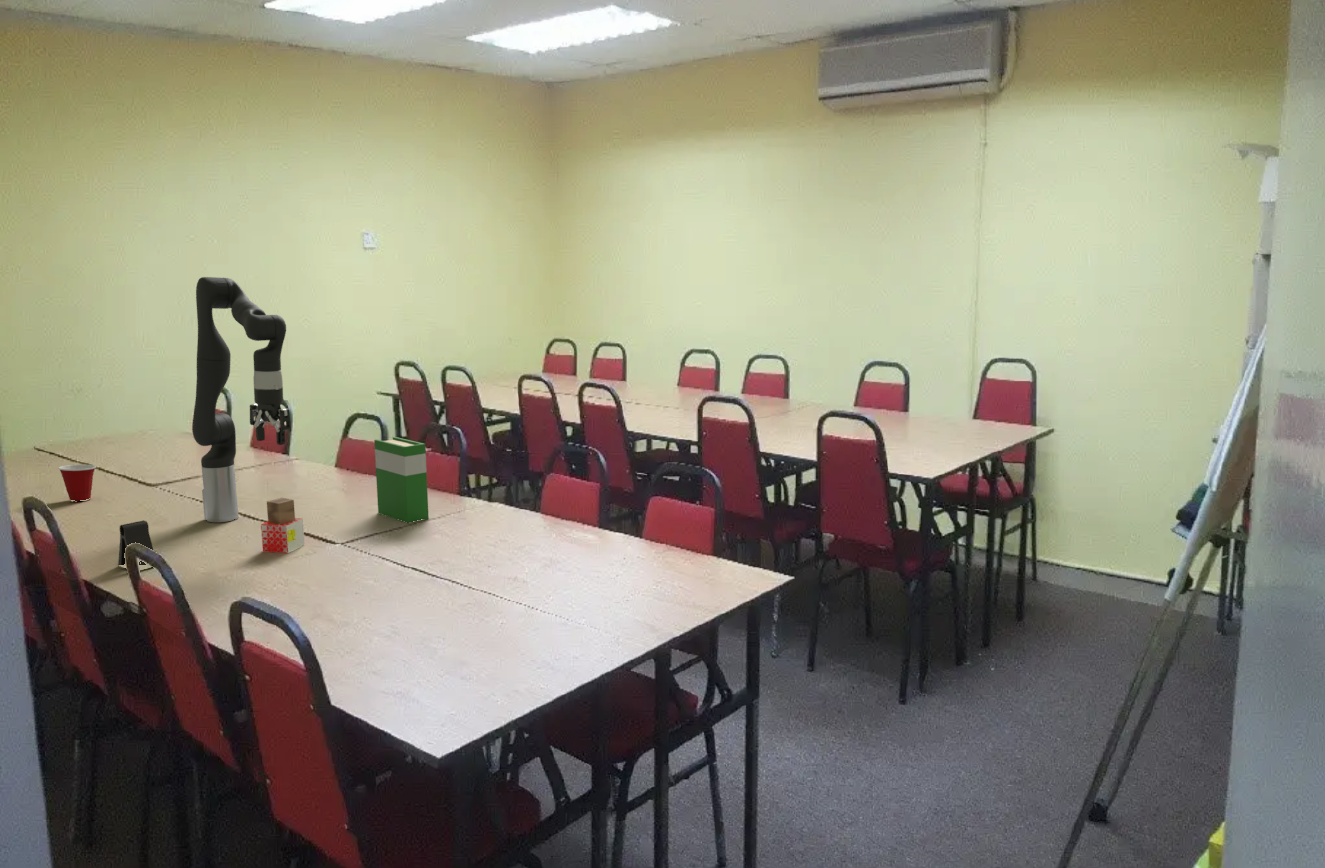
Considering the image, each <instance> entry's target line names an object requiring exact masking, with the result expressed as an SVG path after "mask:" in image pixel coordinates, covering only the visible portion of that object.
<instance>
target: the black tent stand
mask: <svg viewBox="0 0 1325 868" xmlns="http://www.w3.org/2000/svg"><path fill="white" fill-rule="evenodd" d="M119 535H120V537H119V550H118V563H117V565H124V564H125V558H124V553H125V548H126V547H127V545H129V544H131V543H135V542H136V543H140V544H142V545H144V546H146V547H148V548H150V549H152V550H154V547H153V543H152V539H151V535H150V531H149V523H148V521H147V520H139V521H135V522H129V523H124V524H120V525H119ZM140 562H141V564H140ZM140 562H139V565H146V564H145V563H144V562H142V561H140ZM124 570H126V568H125V569H124Z"/></svg>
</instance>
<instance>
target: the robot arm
mask: <svg viewBox="0 0 1325 868" xmlns="http://www.w3.org/2000/svg"><path fill="white" fill-rule="evenodd" d="M195 288H196V289H195V302H196V304H195V305H196V316H197V317H196V318H197V319H196V320H197V346H196V349H197V350H196V386H195V387H196V389H195V400H194V409H193V417H192V422H191V423H192V426H191V427H192V428H191V429H192V431H191V432H192V435H193V439H194V440H195V441H194V442H196V443H197V444H198V445H199V446H201V447H208V446H211V447H210V449H209V450H208V451H207V453H205V454H204V455H203V456H202V457H201V460H200V462H201V474H202V475H201V476H202V485H203V486H202V487H203V489H202V490H201V492H202V493H201V494H202V495H201V496H202V501H203V502H202V506H203V515H204V516H203V517H204V520H207V521H206V522H208V523H224V522H230V521H234V519H235V520H237V519H238V518H239V505H238V494H237V483H236V482H237V480H236V469H235V457H236V454H237V443H236V442H237V440H236V436H237V433H236V426H235V423H234V420H233V418H232V417H231V416H230V415H229V414H228V413H223V412H219V413H216V410H217V402H218V400H219V397H220V395H221V393H222V391H223V389H224V388H225V386H226V385H227V382H228V380H229V378H230V374H231V357H232V356H231V351H230V348H229V346H228V345H227V343H226V342H225V340H224V339H223V337H222V335H221V334H220V332H219V331H218V329H217V327H216V324H215V322H214V316H213V309H218V310H219V309H221V310H223V309H224V310H225V309H230V311H231V316H232V318H233V319H234V320H235V322H237V324H239V325H240V326H242V327H243V330H244V331H245V335H246V336H247V338H248V339H250V340H252V341H255V342H257V341H258V342H259V341H260V342H263V341H269V342H268V343H267V345H266V346H264V347H263V348H259V349H256V350H254V351H253V356H252V357H253V394H254V395H253V397H254V398H253V399H254V403H253V404H249V425H251V426H253V427H254V428H255V437H256V438H255V439H256V441H257V442H262V441H265V439H266V434H265V424H266V423H267V422H268V423H269V424H270V423H271V426H273V427H274V429H275V430H276V444H277V445H278V446H282V445H285V444H286V432H287V431H288V430H291V427H292V426H291V413H290V409H289V408H282V406H281V404H282V403H283V402H284V386H283V384H284V383H283V374H282V357H281V355H282V350H283V345H284V341H285V337H286V334H287V324H286V321H285V320H284V318H283V317H282V316H280V315H278V314H266V313H265V311H264V310H263V309H262V308H261V307H260V306H258V305H257V304H255V303H254V302H253V301H251V299H250V298H249V297H248V296H247V294H246V293H245V291H244V290H243V289H242V288H241V286H240V285H239V284H238V282H236V281H235V280H233V279H232V278H228V277H214V276H213V277H212V276H202V277H200V278H198V280H197V283H196V287H195Z"/></svg>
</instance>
